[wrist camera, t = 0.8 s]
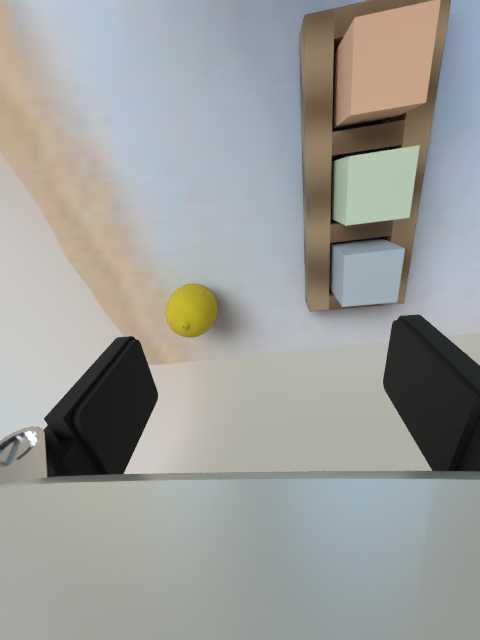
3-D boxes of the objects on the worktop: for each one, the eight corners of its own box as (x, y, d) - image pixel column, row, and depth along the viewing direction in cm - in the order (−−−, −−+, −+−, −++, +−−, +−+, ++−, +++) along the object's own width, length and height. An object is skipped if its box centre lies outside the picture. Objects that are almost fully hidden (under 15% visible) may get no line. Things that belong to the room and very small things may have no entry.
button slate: (330, 243, 28) (344, 255, 23) (381, 237, 27) (404, 248, 23) (330, 288, 30) (342, 307, 26) (376, 284, 29) (397, 302, 25)
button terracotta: (334, 52, 21) (354, 17, 17) (401, 38, 20) (440, -2, 16) (333, 128, 23) (350, 115, 19) (393, 118, 23) (426, 102, 18)
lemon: (169, 290, 33) (144, 319, 26) (203, 266, 32) (186, 290, 24) (196, 323, 35) (180, 358, 28) (230, 302, 33) (222, 334, 26)
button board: (299, 35, 22) (304, 15, 19) (429, 7, 21) (453, -19, 18) (305, 301, 33) (309, 311, 30) (391, 293, 31) (403, 303, 29)
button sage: (332, 161, 24) (348, 156, 20) (390, 152, 24) (419, 145, 19) (331, 218, 27) (345, 225, 22) (383, 211, 26) (409, 217, 22)
